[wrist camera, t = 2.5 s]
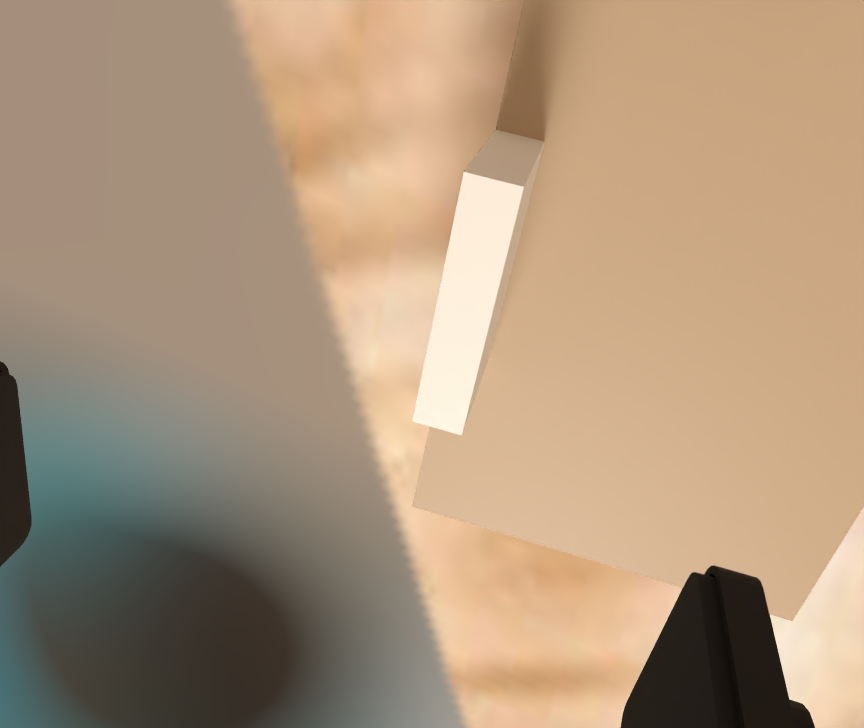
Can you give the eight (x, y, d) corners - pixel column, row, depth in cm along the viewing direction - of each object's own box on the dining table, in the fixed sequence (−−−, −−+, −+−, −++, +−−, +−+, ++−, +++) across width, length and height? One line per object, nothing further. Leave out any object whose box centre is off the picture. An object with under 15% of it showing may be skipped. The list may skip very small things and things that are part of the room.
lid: (565, -169, 16) (542, -207, 12) (1187, -46, 14) (1396, -43, 10) (416, 494, 25) (375, 597, 21) (788, 606, 23) (819, 739, 20)
